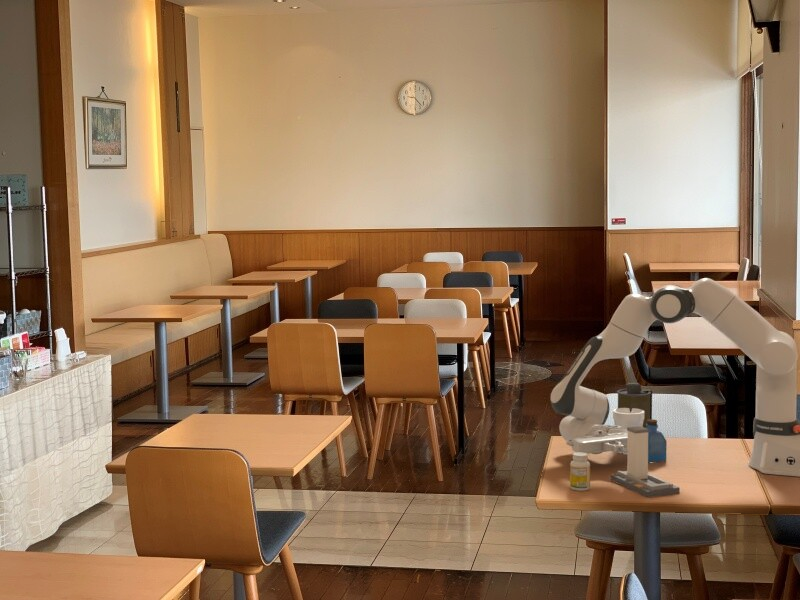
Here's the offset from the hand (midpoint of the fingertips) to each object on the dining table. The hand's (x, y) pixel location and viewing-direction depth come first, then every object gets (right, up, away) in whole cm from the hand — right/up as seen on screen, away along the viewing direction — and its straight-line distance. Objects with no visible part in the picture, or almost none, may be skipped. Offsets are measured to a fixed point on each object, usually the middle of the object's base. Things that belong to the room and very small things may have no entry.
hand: (619, 449), depth 294 cm
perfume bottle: (+13, -6, +17) cm, 22 cm away
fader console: (+4, -9, -11) cm, 15 cm away
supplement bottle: (-13, -9, -12) cm, 20 cm away
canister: (+12, -4, +34) cm, 36 cm away
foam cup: (+8, -5, +26) cm, 28 cm away
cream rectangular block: (+3, -7, -8) cm, 11 cm away
